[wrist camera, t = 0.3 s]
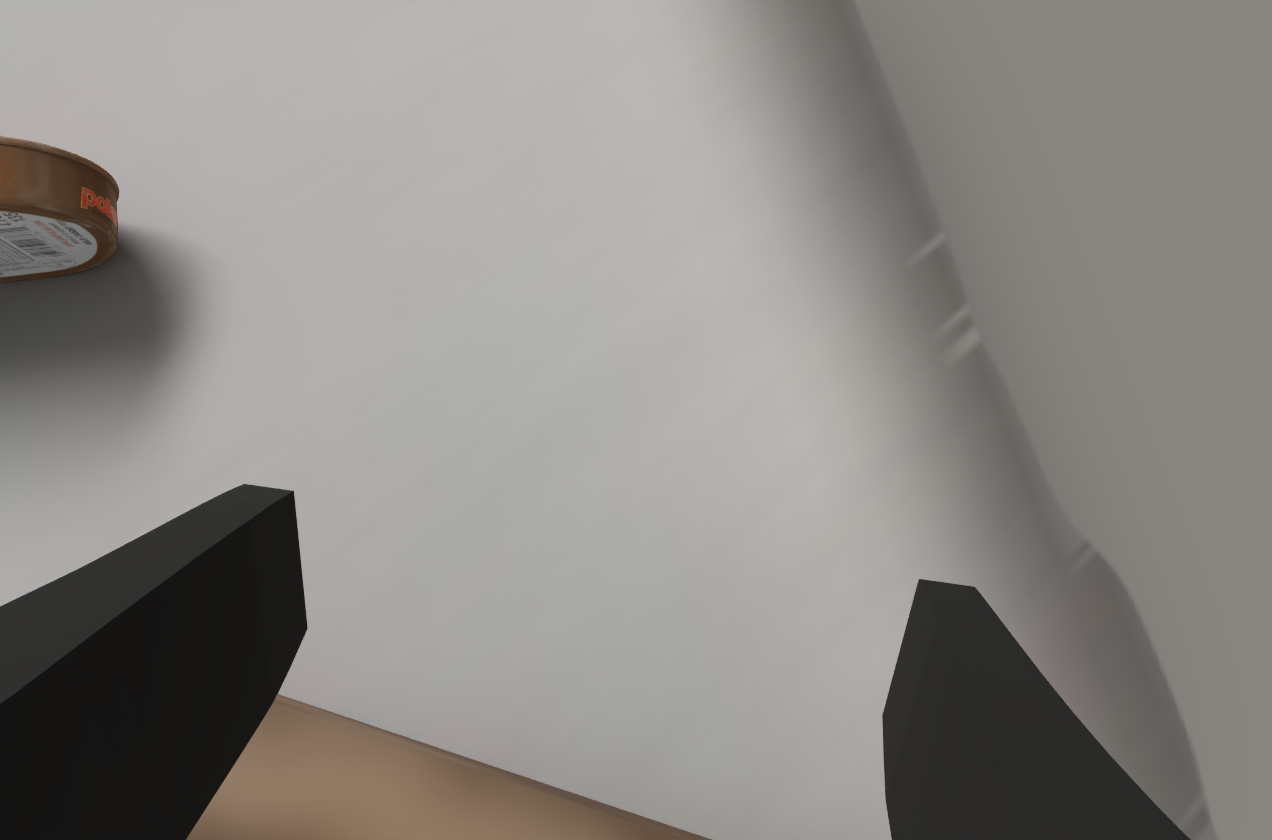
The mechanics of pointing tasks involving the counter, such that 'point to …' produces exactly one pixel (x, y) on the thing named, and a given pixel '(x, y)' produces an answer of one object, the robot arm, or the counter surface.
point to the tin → (53, 211)
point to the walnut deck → (392, 791)
